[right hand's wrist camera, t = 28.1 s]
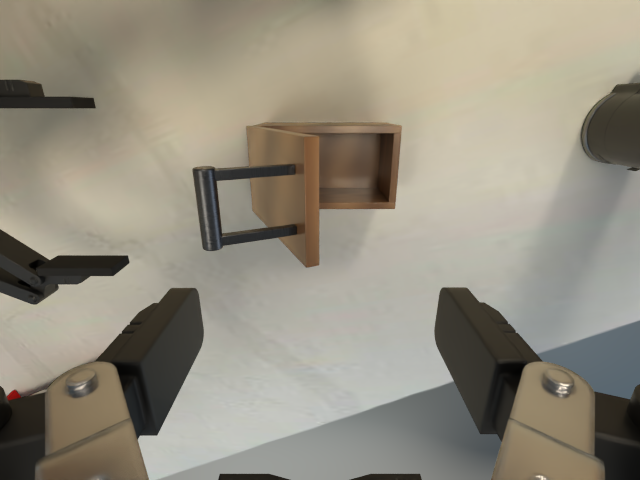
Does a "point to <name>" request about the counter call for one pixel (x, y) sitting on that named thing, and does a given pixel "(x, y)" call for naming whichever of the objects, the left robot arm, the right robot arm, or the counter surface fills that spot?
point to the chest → (354, 162)
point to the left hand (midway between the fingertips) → (104, 191)
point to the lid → (269, 193)
